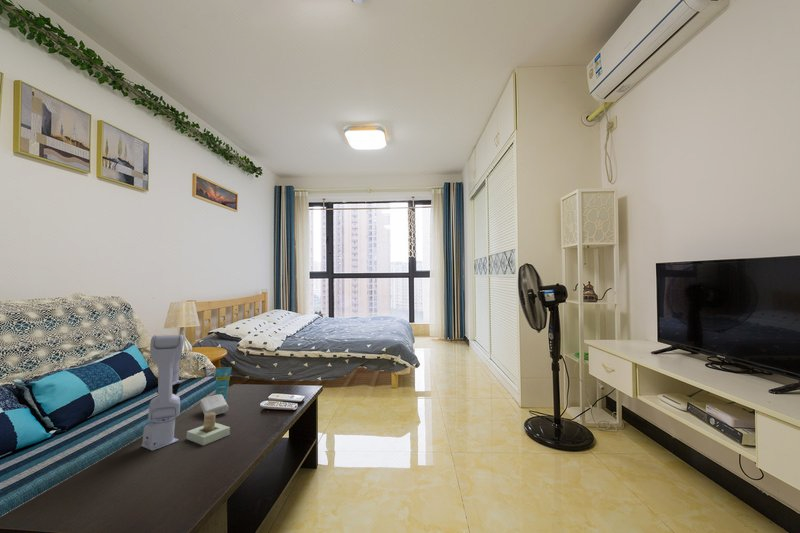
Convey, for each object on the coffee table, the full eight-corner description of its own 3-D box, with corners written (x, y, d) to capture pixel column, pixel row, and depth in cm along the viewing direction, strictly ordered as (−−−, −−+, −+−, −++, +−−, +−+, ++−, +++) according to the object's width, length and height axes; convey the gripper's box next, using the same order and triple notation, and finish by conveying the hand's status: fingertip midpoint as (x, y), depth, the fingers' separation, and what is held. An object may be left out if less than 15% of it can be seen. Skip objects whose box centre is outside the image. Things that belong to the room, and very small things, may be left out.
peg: (206, 439, 131) (208, 416, 132) (200, 437, 133) (202, 414, 133) (216, 436, 134) (217, 413, 135) (210, 433, 136) (211, 411, 137)
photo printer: (229, 411, 159) (221, 398, 168) (229, 403, 158) (221, 391, 167) (204, 419, 152) (198, 405, 161) (204, 411, 151) (198, 397, 160)
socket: (203, 445, 126) (203, 437, 126) (186, 439, 131) (187, 431, 131) (229, 434, 136) (230, 427, 136) (212, 429, 141) (213, 421, 141)
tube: (212, 408, 164) (216, 368, 167) (211, 406, 168) (215, 367, 171) (228, 406, 168) (232, 367, 171) (227, 404, 172) (231, 366, 175)
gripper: (175, 374, 137) (173, 408, 136) (186, 366, 151) (184, 397, 150) (155, 375, 135) (153, 409, 134) (169, 367, 149) (166, 398, 148)
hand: (168, 403), depth 142 cm, fingers open, 7 cm apart
